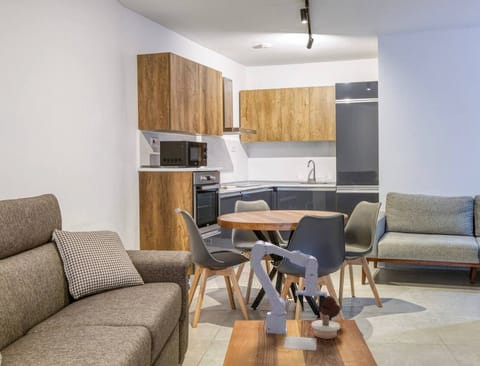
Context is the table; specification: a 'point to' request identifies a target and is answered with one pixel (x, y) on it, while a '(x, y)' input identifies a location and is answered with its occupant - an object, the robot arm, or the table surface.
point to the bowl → (325, 334)
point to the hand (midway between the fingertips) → (311, 311)
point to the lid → (325, 324)
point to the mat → (300, 343)
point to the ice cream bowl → (330, 307)
